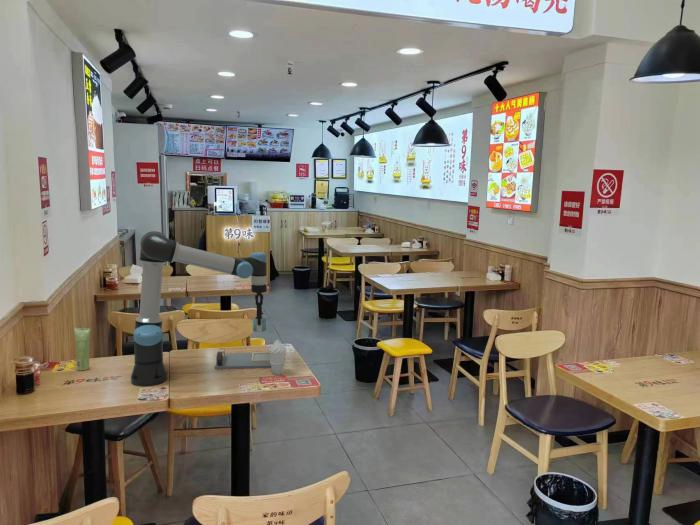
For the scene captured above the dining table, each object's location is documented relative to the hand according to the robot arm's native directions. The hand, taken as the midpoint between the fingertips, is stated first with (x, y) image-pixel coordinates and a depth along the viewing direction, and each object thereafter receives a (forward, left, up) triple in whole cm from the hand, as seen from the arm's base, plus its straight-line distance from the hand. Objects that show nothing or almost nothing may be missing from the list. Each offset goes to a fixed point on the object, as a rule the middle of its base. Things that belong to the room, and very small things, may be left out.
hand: (259, 329), depth 258 cm
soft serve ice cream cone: (+9, -21, -16) cm, 28 cm away
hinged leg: (-18, -5, -14) cm, 24 cm away
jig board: (-5, -3, -16) cm, 17 cm away
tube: (-80, -9, -16) cm, 82 cm away
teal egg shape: (0, 0, 0) cm, 0 cm away
